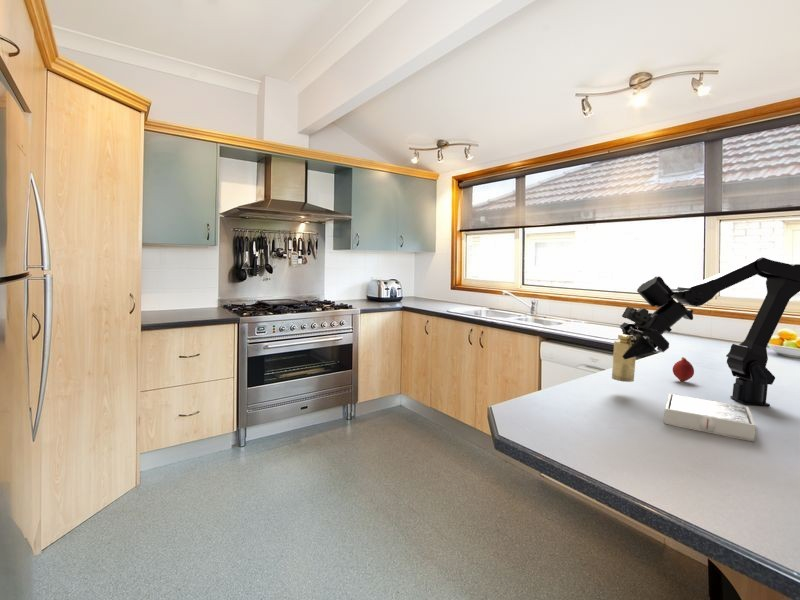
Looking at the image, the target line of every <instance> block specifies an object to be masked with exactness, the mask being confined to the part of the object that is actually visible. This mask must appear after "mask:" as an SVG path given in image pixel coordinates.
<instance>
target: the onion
mask: <svg viewBox="0 0 800 600" xmlns="http://www.w3.org/2000/svg"><path fill="white" fill-rule="evenodd" d="M672 373H673V375H674V376H675V377H676V378H677V380H679V381H680V382H683V383H684V382H686V381H688V380H690V379H692V377H694V375H695V369H694V366H693V365H692V363H691V362H690V361H689V360H688V359H686V358H685V357H683V356H682V357H681V360H679V361H677V362H676V363H674V365H673V366H672Z"/></svg>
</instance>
